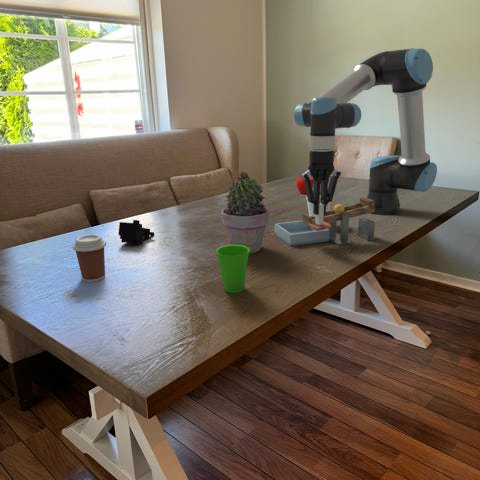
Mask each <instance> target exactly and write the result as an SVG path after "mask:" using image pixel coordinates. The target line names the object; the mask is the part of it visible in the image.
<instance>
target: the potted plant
mask: <svg viewBox="0 0 480 480" xmlns="http://www.w3.org/2000/svg"><path fill="white" fill-rule="evenodd" d="M238 175H239V176H238V177H237V181H236V182H235V183H233V184H231V185H230V186H228V187H226V189H227V188H228V190H227V191H226V190H225V191H223V192H228V193H229V194H226V195H225V196H224V198H227V199H225V200H224V201H225V202H224V203H223V205H224V204H225V203H226V206H227V207H224V208H223V209H222V210H221V219H222V224H223V226H224V227H225V230H226V233H227V237H228V240H229V245H243V246H247V247H248V248H249V249H250V252H249V255H250V254H255V253H257V252H259V251H260V250H261V249H262V244H263V241H264V236H265V233H266V232H265V231H266V227H267V225H268V224H269V219H270V218H269V217H270V210H269V208H268V207H266V206H265V204H264V201H263V200H264V199H265V200H267V201H271V202H272V203H275V202H274V201H272V200H269V199H268V198H266V197H265V196H263V195H262V194H261V193H264V194H265V195H267V193H266V192H264V191H263V189H264V188H263V187H262V184H257V180H256V179H255V178H253V179H251V178H250V177H249V175H248V173H246V172H245V171H241V172H239V174H238ZM221 198H223V197H221Z"/></svg>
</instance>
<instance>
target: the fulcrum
mask: <svg viewBox="0 0 480 480" xmlns="http://www.w3.org/2000/svg"><path fill="white" fill-rule="evenodd" d="M332 209H333V208H331V209H329V210H332ZM337 222H338V221H336V222H332V223H328V224H330V225H331V228H328V230H329V241H328V242H331V243H333V244H334V245H335V246H337V247H341V246H343V247H344V246H350V245H352V242H351V240H349V227H350V226H349V225H350V223H349V222H350V218H349V215H348V214H346V215H341V220H340V233H339V234H340V235H339V234H337Z"/></svg>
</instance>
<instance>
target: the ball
mask: <svg viewBox="0 0 480 480" xmlns="http://www.w3.org/2000/svg"><path fill="white" fill-rule="evenodd" d="M333 209H334V212H335V213H341V212H344V205H343V204H342V203H337V204H335V205H334V207H333Z"/></svg>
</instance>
